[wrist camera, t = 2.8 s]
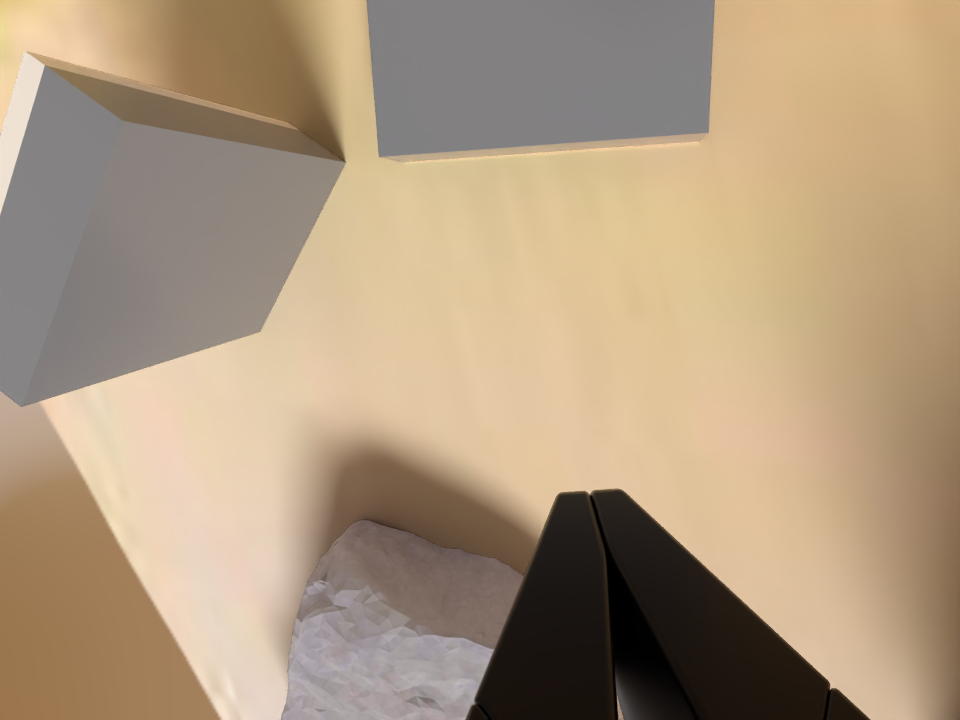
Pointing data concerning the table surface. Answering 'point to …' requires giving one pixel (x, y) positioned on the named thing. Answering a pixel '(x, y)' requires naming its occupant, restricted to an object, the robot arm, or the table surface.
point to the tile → (140, 224)
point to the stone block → (395, 628)
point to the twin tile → (537, 75)
